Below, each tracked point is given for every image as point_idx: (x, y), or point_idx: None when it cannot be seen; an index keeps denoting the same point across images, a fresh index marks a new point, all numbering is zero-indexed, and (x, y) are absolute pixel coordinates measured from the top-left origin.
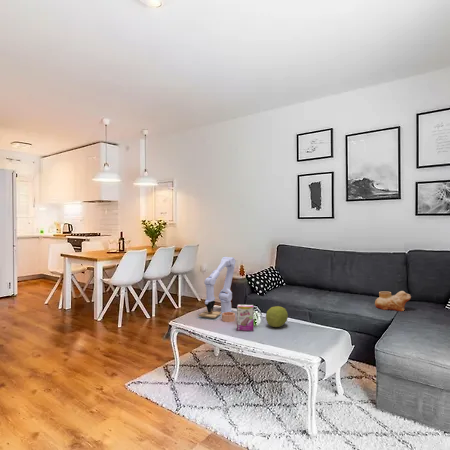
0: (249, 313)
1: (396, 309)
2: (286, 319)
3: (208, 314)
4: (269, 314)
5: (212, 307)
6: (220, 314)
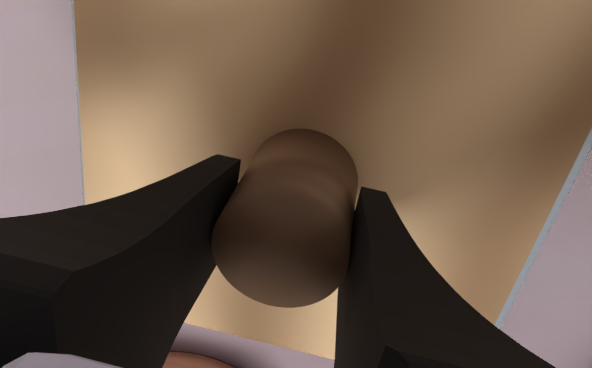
0: None
1: None
2: None
3: (192, 152)
4: None
5: (337, 331)
6: (500, 316)
